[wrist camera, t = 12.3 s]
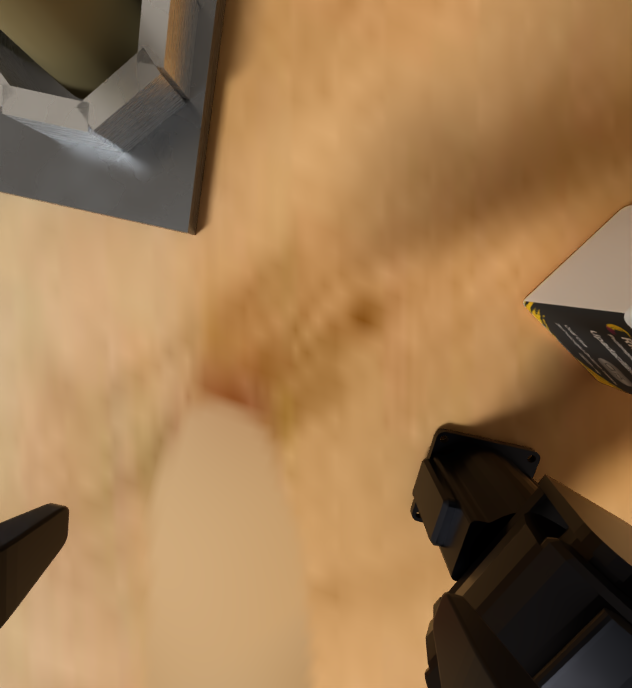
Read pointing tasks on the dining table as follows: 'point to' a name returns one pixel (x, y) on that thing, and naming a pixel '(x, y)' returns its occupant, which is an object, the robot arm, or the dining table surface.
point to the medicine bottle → (594, 303)
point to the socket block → (118, 123)
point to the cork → (74, 37)
